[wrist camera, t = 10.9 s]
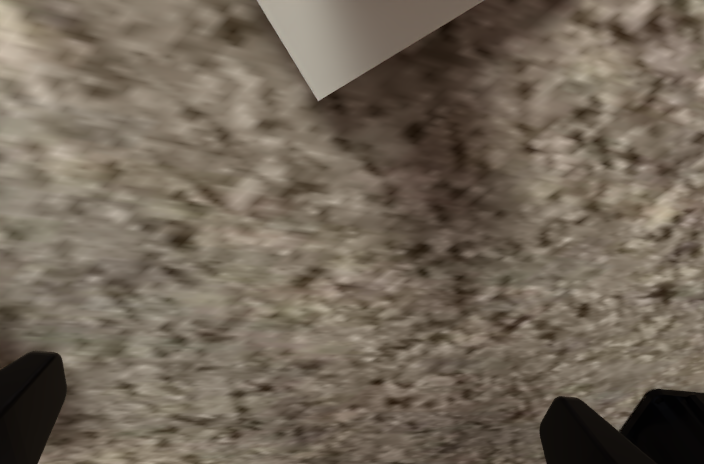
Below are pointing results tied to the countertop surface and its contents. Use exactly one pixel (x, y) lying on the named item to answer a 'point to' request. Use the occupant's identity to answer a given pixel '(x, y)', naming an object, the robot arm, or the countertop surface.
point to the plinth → (353, 33)
